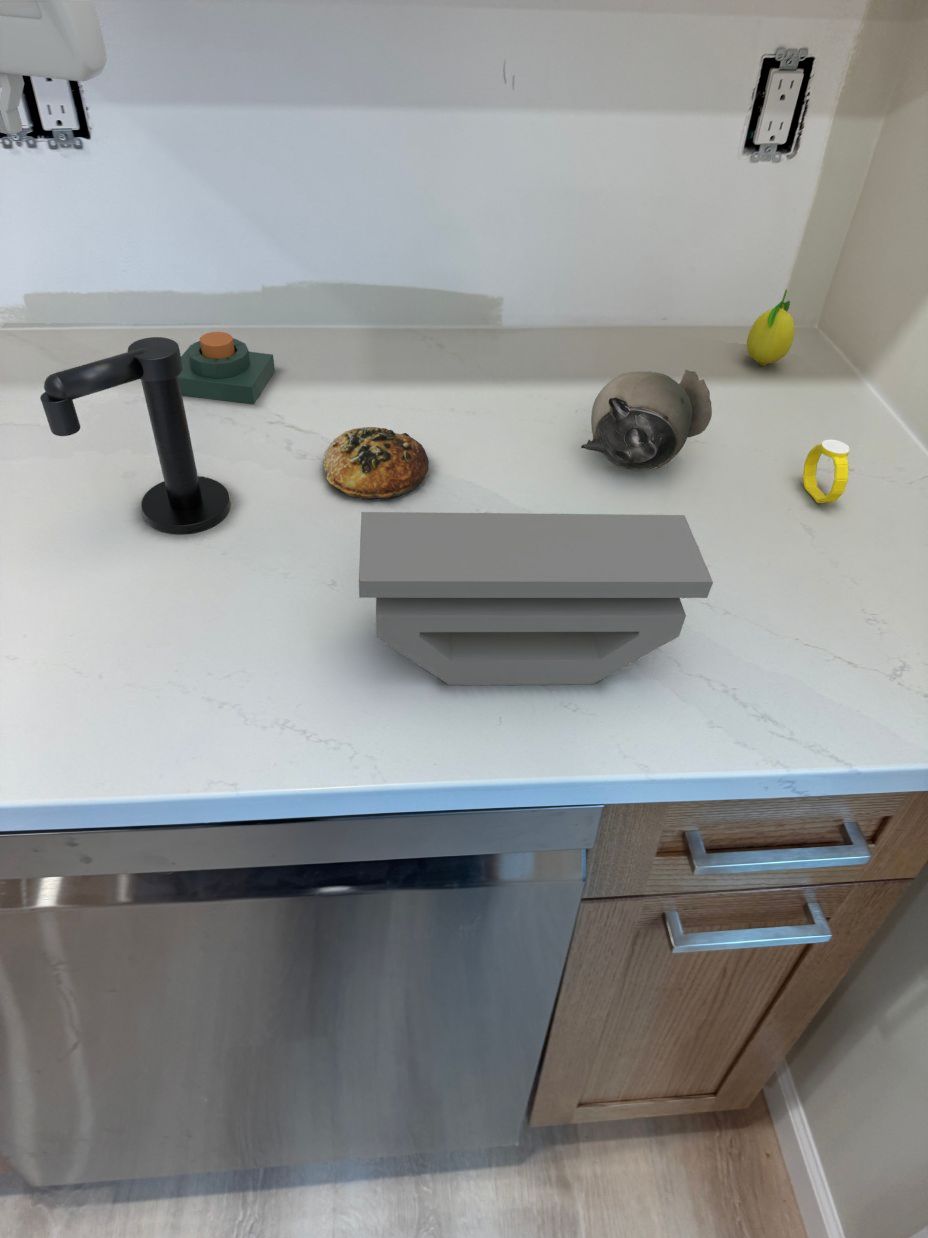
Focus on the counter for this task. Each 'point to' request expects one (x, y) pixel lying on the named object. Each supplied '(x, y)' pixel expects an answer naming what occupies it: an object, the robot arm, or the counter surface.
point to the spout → (107, 379)
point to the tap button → (217, 345)
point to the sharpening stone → (528, 591)
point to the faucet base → (189, 516)
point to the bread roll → (375, 463)
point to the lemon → (771, 334)
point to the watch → (839, 455)
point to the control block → (225, 374)
